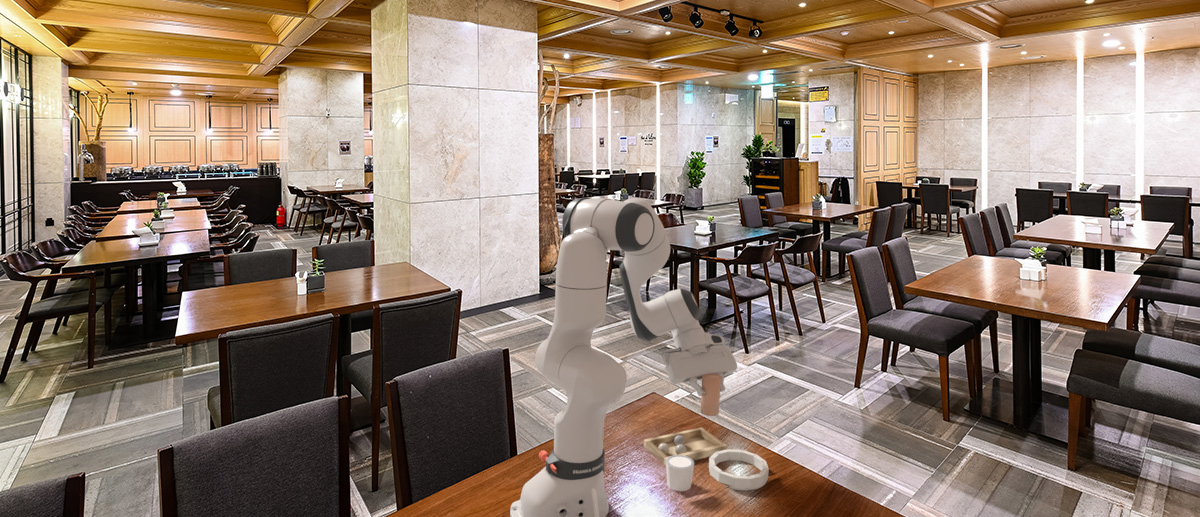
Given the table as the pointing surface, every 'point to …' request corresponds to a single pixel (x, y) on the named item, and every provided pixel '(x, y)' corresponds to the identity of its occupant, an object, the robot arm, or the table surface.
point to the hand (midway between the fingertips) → (712, 392)
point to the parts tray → (686, 444)
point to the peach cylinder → (711, 394)
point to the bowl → (734, 480)
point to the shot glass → (679, 472)
